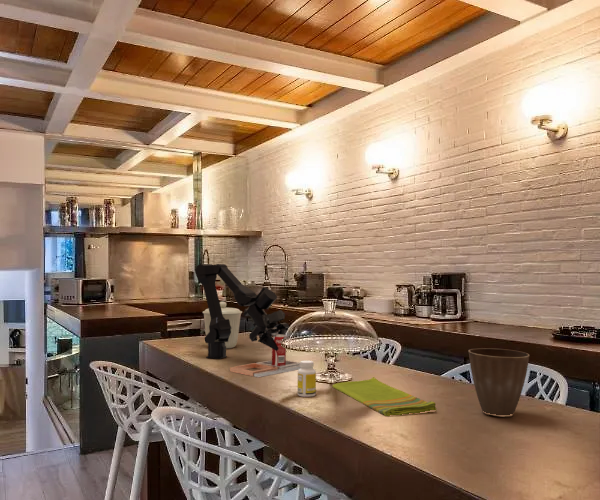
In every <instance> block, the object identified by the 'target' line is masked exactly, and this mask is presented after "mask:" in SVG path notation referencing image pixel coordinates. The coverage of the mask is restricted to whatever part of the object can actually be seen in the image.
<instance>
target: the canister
mask: <svg viewBox="0 0 600 500" xmlns="http://www.w3.org/2000/svg"><path fill="white" fill-rule="evenodd" d="M219 302H220V306H221V310H222V314H223V317H224V318H225V319H229V321H230V326H231V328H232V329H231V334H230V336H229V339H228V342H225V346H226V350H227V349H233V348H234V347H236V345H237V343H238V340H239V339H238V338H239V332H240V323H241V315H242V313H243V311H242V310H240V309H239V308H235V307H227V302H226V301H219ZM202 314H203V317H204V329H205V330H204V331H205V336H206V335H207V334H208V333H209V332H210V330H209V325H210V321H211V317H210V313H209V308H206V309H205V310H204V311H202ZM206 344H207V345H208V343H206Z"/></svg>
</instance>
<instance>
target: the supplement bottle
mask: <svg viewBox="0 0 600 500" xmlns="http://www.w3.org/2000/svg"><path fill="white" fill-rule="evenodd" d="M299 363H300V367H301V368H300V369H298V370H297V395H298V396H299V397H303V398H304V397H305V398H306V397H307V398H310V397H315V396H316V391H317V371H316V369H315V368H314V366H315V363H314V361H313V360H301V361H299Z"/></svg>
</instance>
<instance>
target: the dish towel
mask: <svg viewBox="0 0 600 500" xmlns="http://www.w3.org/2000/svg"><path fill="white" fill-rule="evenodd" d="M331 387H332V388H333V389H335V390H336V391H338V392H341V393H342V394H345V395H347V396H348V397H350V398H352V399H354V400H355V401H357V402H358V401H359V402H358V403H360V402H361V404H362V403H363V404H362V405H364V406H366V407H368V408H369V407H370V408H369V409H372V410H373V411H375V412H377V413H378V414H380V415H383V414H384V415H383V416H385V417H391V416H390V415H400V416H403V415H402V414H409V413H420V412H425V411H430V410H436V411H437V408H436V402H434V401H426V400H424V399H420V398H419V397H416V396H415V395H412V394H410V393H407V392H406V391H403V390H401V389H397V388H395V387H393V386H390V385H388V384H386V383H384V382H382V381H380V380H379V379H377V378H375V376H374V377H371V378H370V379H363V380H357V381H356V380H354V381H353V380H352V381H344V382H343V381H342V382H337V383H334V384H333V385H332V386H331Z"/></svg>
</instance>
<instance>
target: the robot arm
mask: <svg viewBox="0 0 600 500" xmlns="http://www.w3.org/2000/svg"><path fill="white" fill-rule="evenodd" d="M194 270H195V271H194V272H195V276H196V279H197V280H198V282H199V283H200V284H201V285H202V287H203V290H204V291H203V292H204V295H205V298H206V304H207V309H209V313H210V317H211V321H210V325H209V330H210V332H209V333H208V334H207V335H206V334H205V336H204V343H206V344H207V343H208V344H207V356H206V357H205V358H206V359H215V360H217V359H218V360H222V359H224V358H226V357H228V356H227V349H226V346H225V342H228V339H229V336H230V334H231V329H232V328H231V326H230V321H229V319H225V318H224V317H223V314H222V310H221V306H220V302H221V301H220V298H219V295H218V291H217V286H216V282H217V281H216V280H217V278H218V277H219V278H220V280H222V282H223V283H225V285H226V286H227V288H229V290H230V291H231V292H232V293H233V298H234V300H235V302H236V303H237V304H238V306H239V307H247V308H245V309H244V310H243V311H244V312H243V317H250V319H251V320H252V321H253V324H252V325H253V327H254V328H253V330H251V332H250V333H249V340H250V341H251V342H258V343H261V344H263V345H265V346H267V347H269V348H271V350H272V349H274V350H276V351H278V349H279V348H278V346H277V345H276V343H275V341H274V339H273V336H274V335H273V334H285V335H286V332H287V331H288V330H289V329H290V328H291V327H290V325H289V323H286V322H283V323H279V324H278V322H280V321H283V320H285V317H286V313H285V311H283V310H278V311H274V312H272V313H267V312H266V310H269V308H271V306H272V305H273V303H275V301H276V300H277V299H278V296H277V294H276V293H275V292H273V290H271V289H269V288H268V287H266V286H264V287H262V288H261V290H260V292H259V293H258V294H256V292H255V291H253V290H252V289H251V288H249V287H248V286H245V285H244V284H243V283H242V282H241V281H240V280H239V279H238V278H237V277H236V276H235V275H234V273H233V272H232V271H231V270H230V269H229V268H228V265H226V264H224V263H216V264H212V263H199V264H198V265H197V266H196V268H195V269H194ZM217 276H218V277H217ZM289 327H290V328H289ZM288 328H289V329H288Z"/></svg>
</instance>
